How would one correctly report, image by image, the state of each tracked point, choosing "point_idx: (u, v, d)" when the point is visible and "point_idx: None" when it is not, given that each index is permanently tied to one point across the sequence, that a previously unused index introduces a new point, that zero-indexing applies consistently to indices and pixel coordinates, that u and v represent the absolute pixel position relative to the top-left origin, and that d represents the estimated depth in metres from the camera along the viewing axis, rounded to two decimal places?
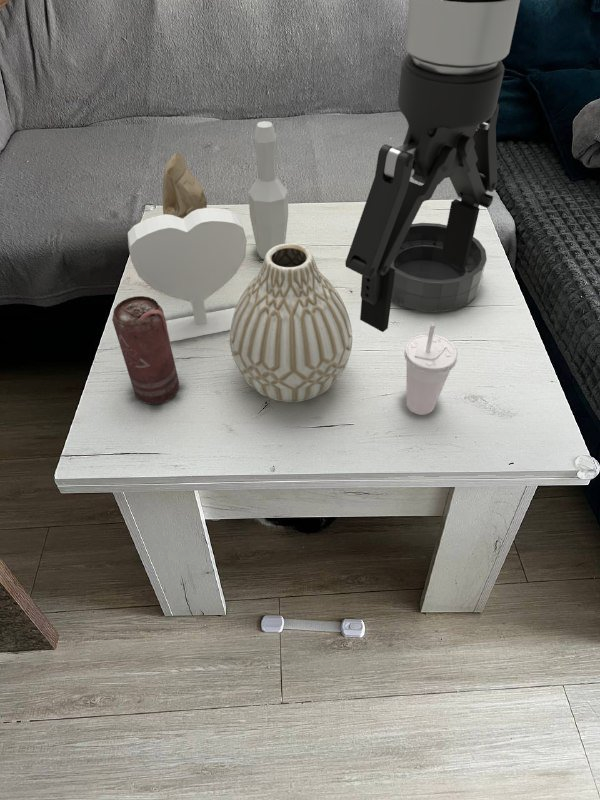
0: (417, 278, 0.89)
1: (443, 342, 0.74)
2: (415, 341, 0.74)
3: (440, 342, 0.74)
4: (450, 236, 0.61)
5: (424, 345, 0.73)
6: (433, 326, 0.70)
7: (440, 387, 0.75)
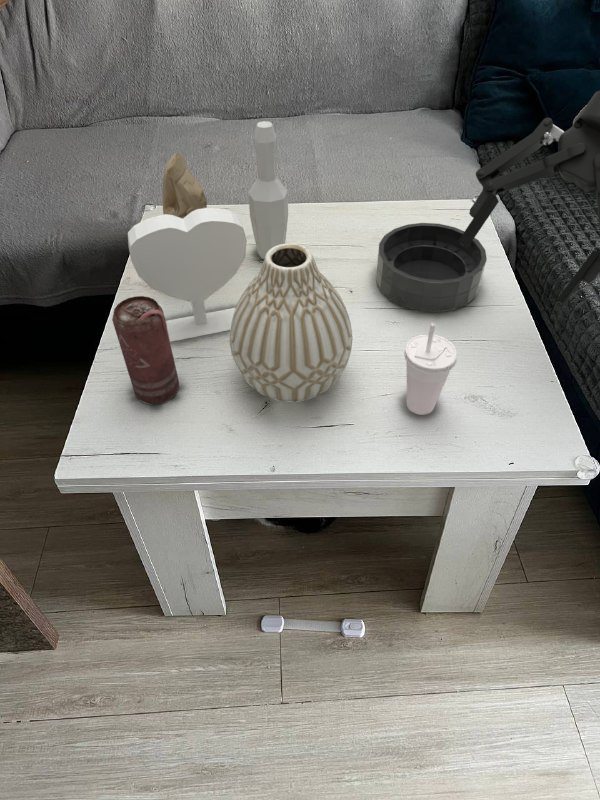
0: (417, 278, 0.89)
1: (443, 342, 0.74)
2: (415, 341, 0.74)
3: (440, 342, 0.74)
4: None
5: (424, 345, 0.73)
6: (433, 326, 0.70)
7: (440, 387, 0.75)
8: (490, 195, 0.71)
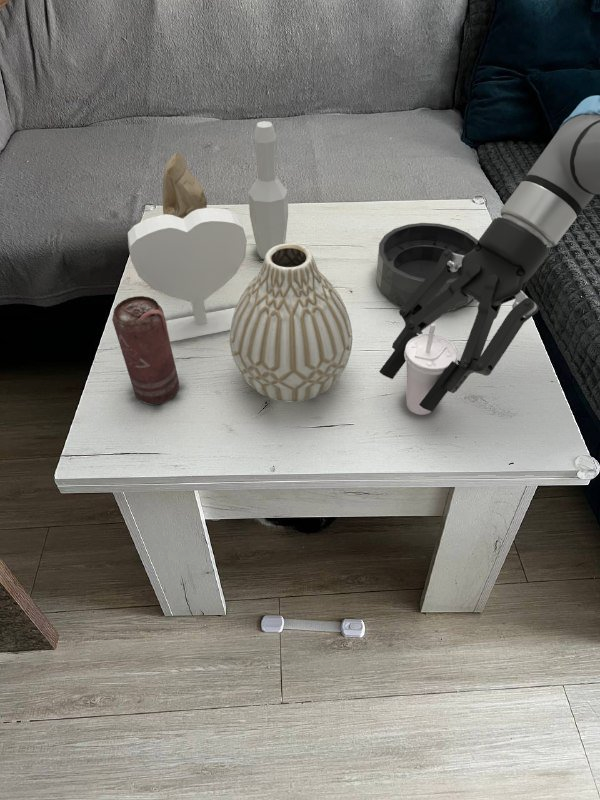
0: (417, 278, 0.89)
1: (443, 342, 0.74)
2: (415, 341, 0.74)
3: (441, 342, 0.74)
4: None
5: (424, 345, 0.73)
6: (433, 326, 0.70)
7: None
8: (409, 332, 0.75)
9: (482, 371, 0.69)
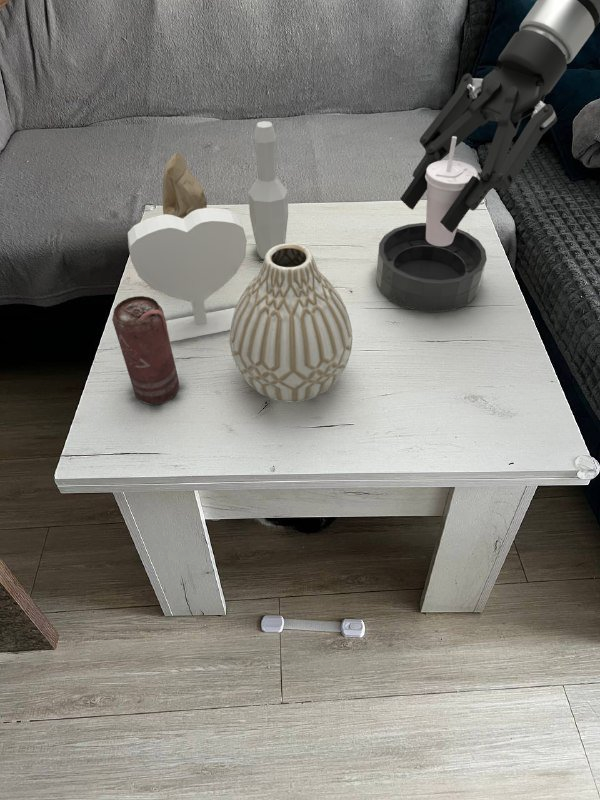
0: (417, 278, 0.89)
1: (463, 165, 0.76)
2: (436, 165, 0.76)
3: (460, 165, 0.76)
4: None
5: (445, 167, 0.75)
6: (455, 139, 0.72)
7: None
8: (430, 156, 0.77)
9: (502, 181, 0.71)
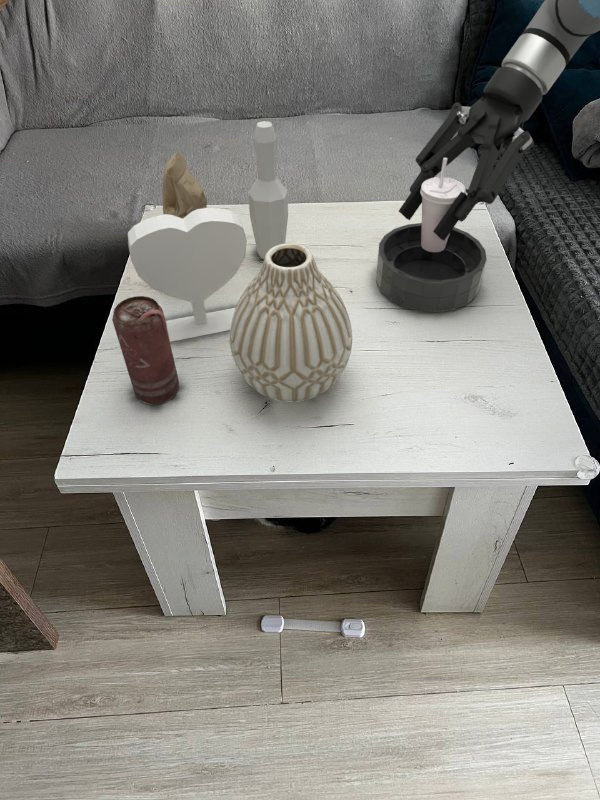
0: (417, 278, 0.89)
1: (453, 182, 0.87)
2: (430, 181, 0.88)
3: (451, 182, 0.88)
4: None
5: (437, 183, 0.87)
6: (445, 160, 0.83)
7: None
8: (424, 174, 0.88)
9: (486, 196, 0.82)
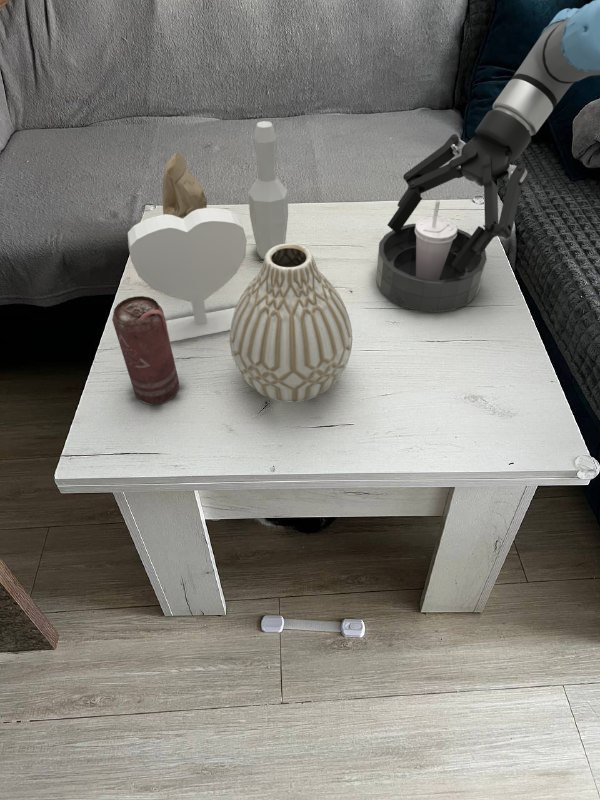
0: (417, 278, 0.89)
1: (446, 221, 0.92)
2: (423, 220, 0.92)
3: (444, 221, 0.92)
4: None
5: (431, 222, 0.91)
6: (438, 202, 0.88)
7: (443, 258, 0.93)
8: (411, 191, 0.93)
9: (504, 231, 0.84)
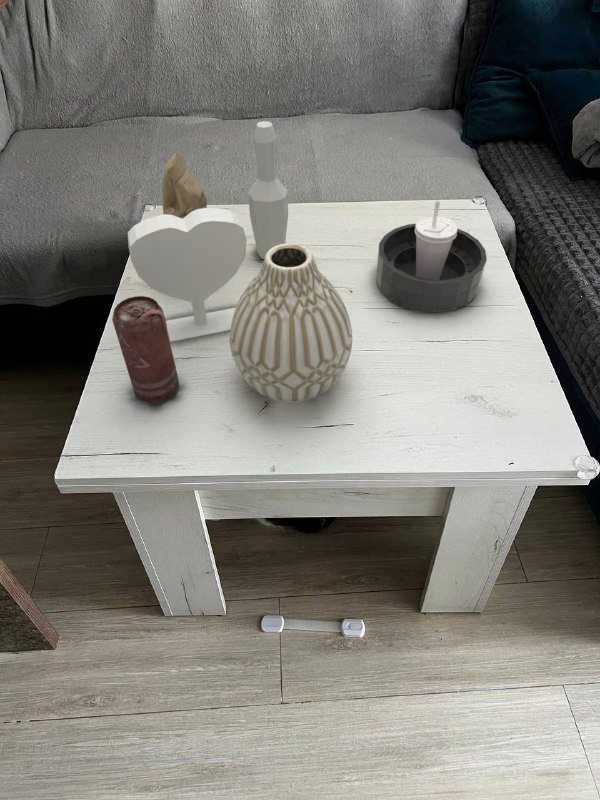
0: (417, 278, 0.89)
1: (446, 221, 0.92)
2: (423, 220, 0.92)
3: (444, 221, 0.92)
4: None
5: (431, 222, 0.91)
6: (438, 202, 0.88)
7: (443, 258, 0.93)
8: None
9: None
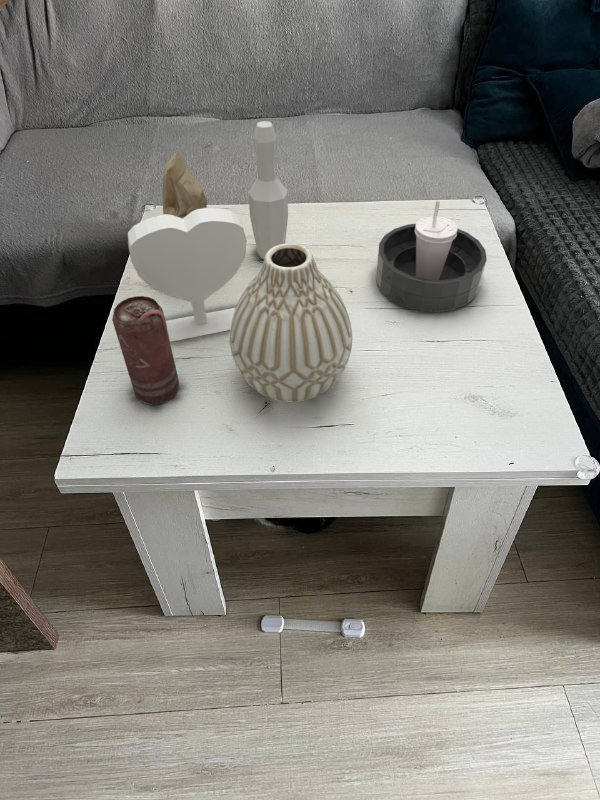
0: (417, 278, 0.89)
1: (446, 221, 0.92)
2: (423, 220, 0.92)
3: (444, 221, 0.92)
4: None
5: (431, 222, 0.91)
6: (438, 202, 0.88)
7: (443, 258, 0.93)
8: None
9: None
